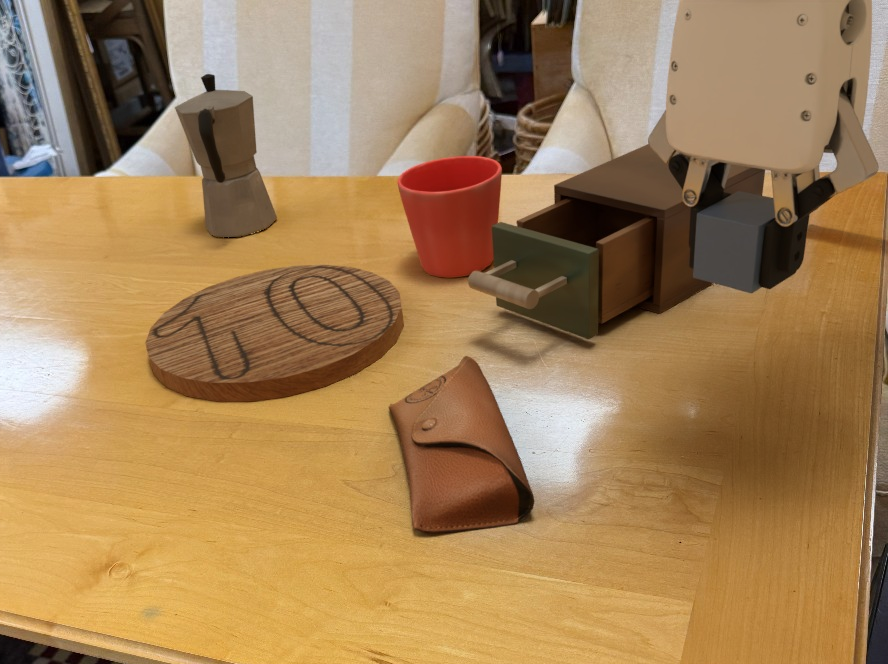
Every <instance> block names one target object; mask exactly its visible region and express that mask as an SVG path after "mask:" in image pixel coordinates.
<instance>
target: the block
mask: <svg viewBox="0 0 888 664" xmlns="http://www.w3.org/2000/svg"><path fill="white" fill-rule="evenodd" d="M774 220H775V213H774V201H773V197H770V196H766V195H762V196H761V195H756V194H750V193H745V192H740V191H738V192H736V193H734V194H732V195H730V196H728V197H727V198H725V199H723V200H721V201H719V202H717V203H715V204H713V205H712V206H710V207H708V208H706V209H704V210H702V211H700V212H699V213H697V221H696V238H695V254H694V270H693V278H697V279H700V280H704V281H707V282H711V283H713V284H716V285H719V286H723V287H726V288H729V289H734V290H737V291H741V292H744V293H748V294H754V293H755V292H757V291H759V290H760V289H761V288H763V287H761V286H760V284H759V277H760V268H761V259H762V249H763V240H764V231H765V227H766V225H767V224H769V223H771V222H773V221H774Z"/></svg>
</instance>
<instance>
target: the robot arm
mask: <svg viewBox="0 0 888 664" xmlns="http://www.w3.org/2000/svg"><path fill="white" fill-rule="evenodd" d="M872 36H873V0H679V2H678V6H677V12H676V15H675V22H674V27H673V34H672V40H671V47H670V49H671V50H670V56H669V64H668V74H667V82H666V83H667V84H666V96H665V97H666V99H665V110H664V112H663V113H662V115H661V117H660V118H659V120H658V121H657V122H656V124H655V126H654V127H653V129H652V131H651V132H650V134H649V135H648V137H647V144H649V146H650V148H651V149H652V150H653V151H654V152H655V153H656V154H657V155H658V156H659V157H660V158H661V159H662V160H663V161H664V162H665V163H668V166H669V170H670V172H671V173H672V175H673V176H674V178H675V179H676V181H677V182H678V184H679V185H680V187H681V188H682V189H683V192H682V200H683V202H684V203H685V204H686V205H687V206H690V207H691V211H690V228H689V247H690V260H689V267H690V268H692V269H694V254H695V238H696V221H697V213H699V212H700V211H702V210H704V209H706V208H708V207H710V206H712V205H713V204H715V203H717V202H719V201H721V200H723V199H725V198H727V197H728V196H730V195H731V193H726V192H724V187H725V185H726V181H727V177H728V174H729V170H730V167H731V164H734V165H740V166H746V167H752V168H758V169H764V170H765V171H770V174H771V175H770V176H771V188H772V198H773V201H774V213H775V220H774V221H773V222H771V223H769V224H767V225H766V227H765V231H764V240H763V249H762V259H761V268H760V277H759V284H760V286H761V287H762V288H763V289H767V290H772V289H773V288H775V287H777V286H778V285H780V284H781V283H783V282H784V281H786V280H788V279H789V278H790V277H792V276H794V275H795V274H796V273H797V271H798V270H799V269H800V268H801V267H802V264H803V262H804V258H805V251H806V244H807V238H808V237H807V236H808V229H809V222H810V215H811V214H812V213H813V212H815V211H816V210H818V209H819V208H820V207H821V206H823V205H824V204H826V203H827V202H829V200H831V199H833V197H835V196H837V195H839V194H841V193H843V192H845V191H848V190H850V189H852V188H854V187H855V186H858V185H860V184H863V182H865V181H867V180H869V179H870V178H872V177H875V175H877V173H878V171H879V168H880V166H879V163H878V160H877V158H876V156H875V153H874V151H873V149H872V146H871V145H870V142H869V140H868V138H867V136H866V134H865V131H864V129H863V127H864V122H865V116H866V108H867V101H868V91H869V90H868V89H869V80H870V67H871V56H872V55H871V54H872V39H873V38H872ZM824 153H825V154H833V156H834V158H835V160H836V167H835V169H834V170H833V171H830V172H828V173H827V174H825V175H823V176H821V174H820V164H821V162H822V159H823V156H824Z"/></svg>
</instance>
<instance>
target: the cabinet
mask: <svg viewBox="0 0 888 664" xmlns="http://www.w3.org/2000/svg"><path fill="white" fill-rule="evenodd" d="M765 177H766V170H764V169H758V168H752V167H746V166H740V165H734V164H731V167H730V170H729V174H728V177H727V181H726V185H725V187H724V192H726V193H731V195H732V194H734V193H736V192H738V191H740V192H745V193H750V194H756V195H761V196H763V194H764V193H763V192H764V184H765ZM553 192H554V194H553V195H554V196H553V197H554V200H553V201H554V204H555V203H557V202H560V201H562V200H564V199H566V198H568V197H573V198H577V199H581V200H586V201H590V202H594V203H599V204H603V205H607V206H611V207H616V208H620V209H624V210H629V211H633V212H637V213H641V214H646V215H650V216H654V217H658V218H657V233H656V254H655V275H654V295H653V296H651V297H649V298H648V299H646V300H644V301H642V302H640V303H638V304H637V305H635V306H634V307H637V308H640V309H643V310H646V311H649V312H653V313H654V314H655V313H656V314H659V315H660V314H662V313H664V312H666V311H667V310H669V309H671V308H673V307H674V306H676V305H678V304H679V303H682V302H683V301H685V300H686V299H688V298H690V297H692V296H694V295H695V294H697V293H699V292H700V291H703V290H704V289H707V288H709V286H711V285H714V283H711V282H707V281H704V280H700V279H697V278H693V270H694V269H692V268H690V267H689V260H690V247H689V228H690V211H691V207H690V206H687V205H686V204H685V203H684V202H683V200H682V192H683V189H682V188H681V187H680V185H679V184H678V182H677V181H676V179H675V178H674V176H673V175H672V173H671V172H670V170H669V166H668V163H665V162H664V161H663V160H662V159H661V158H660V157H659V156H658V155H657V154H656V153H655V152H654V151H653V150H652V149H651V148H650V146H649V144H648V143H647V144H645V145H643V146H640V147H638V148H636V149H633V150H631V151H629V152H626V153H624V154H622V155H620V156H617V157H615V158H613V159H610V160H608V161H606V162H604V163H601V164H599V165H597V166H595V167H592V168H589V169H588V170H585V171H583V172H581V173H578V174H575V175H574V176H571V177H570V178H569V177H568V178H567V179H565V180H562V181H559V182H558V183H555V184H554V185H553Z"/></svg>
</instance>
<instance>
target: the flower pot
mask: <svg viewBox="0 0 888 664" xmlns="http://www.w3.org/2000/svg"><path fill="white" fill-rule="evenodd" d="M502 175H503V169H502V164H500V162H498V161H497V160H495V159H493V158H491V157H490V158H489V157H486V156H478V155H477V156H476V155H462V156H461V155H460V156H459V155H458V156H450V157H444V158H438V159H433V160H429V161H426V162H421V163H419V164H416V165H414V166H412V167H410V168H408V169H406V170H404V172H402V173H401V174H400V175H399V176H398V177H397V187H398V192H399V196H400V200H401V203H402V206H403V210H404V213H405V217H406V220H407V222H408V226H409V229H410V233H411V236H412V239H413V243H414V245H415V249H416V252H417V255H418V259H419V263H420V265H421V267H422V270H424V271H425V273H427V274H428V275H431V276H433V277H438V278H447V279H449V278H461V277H467V276H470V274H471V273H472V272H473V271H480V272H483V271H484V270H485V269H486V268H487V267H489V266H491V265H492V263H494V258H493V242H492V226H493V225H495V224H497V223H499V215H500V214H499V213H500V203H501V202H500V201H501V191H502V178H503V177H502Z"/></svg>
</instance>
